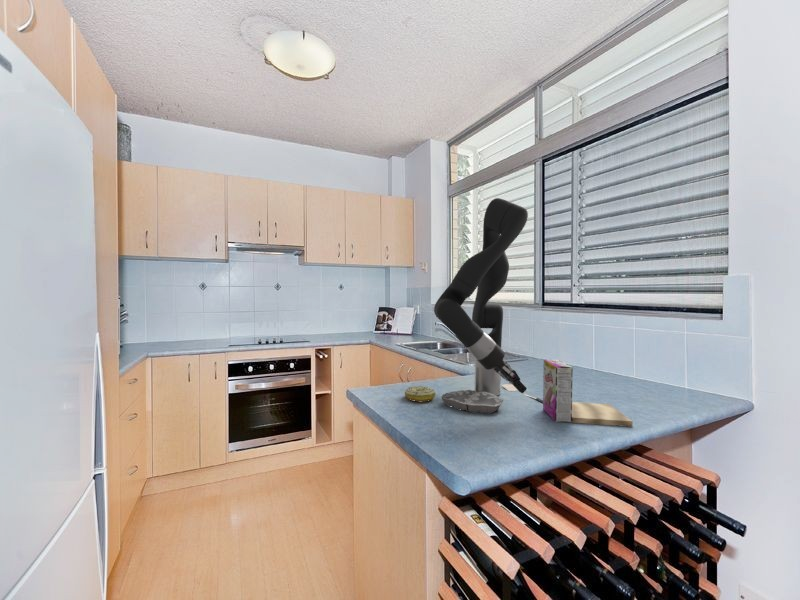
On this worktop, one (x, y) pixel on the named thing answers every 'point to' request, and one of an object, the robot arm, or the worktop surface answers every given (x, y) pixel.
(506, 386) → the spatula
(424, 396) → the decorated donut
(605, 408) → the bamboo board
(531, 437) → the worktop surface
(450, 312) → the robot arm
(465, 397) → the flat grey stone
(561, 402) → the candy bar box
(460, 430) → the worktop surface
